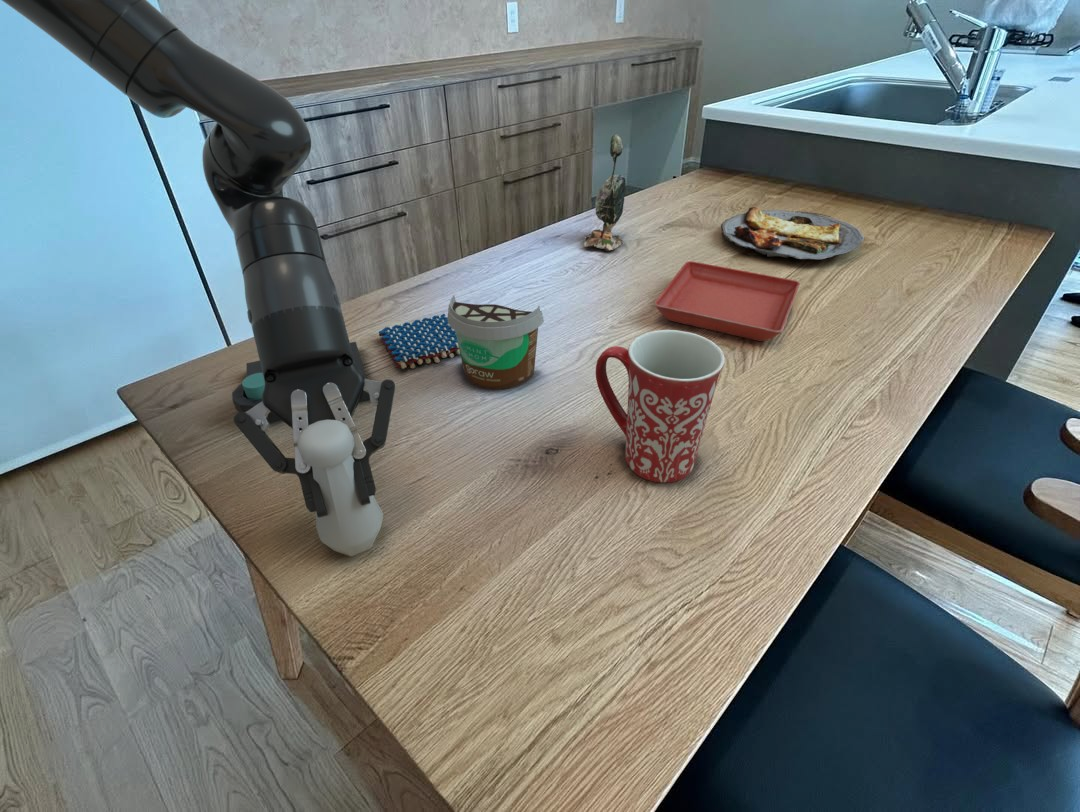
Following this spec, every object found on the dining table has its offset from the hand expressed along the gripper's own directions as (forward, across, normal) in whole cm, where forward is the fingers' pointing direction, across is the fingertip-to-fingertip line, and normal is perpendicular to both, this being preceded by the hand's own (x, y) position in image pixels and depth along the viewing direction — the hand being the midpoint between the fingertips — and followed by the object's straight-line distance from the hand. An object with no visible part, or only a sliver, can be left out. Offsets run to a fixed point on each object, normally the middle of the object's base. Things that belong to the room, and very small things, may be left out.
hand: (344, 509), depth 50 cm
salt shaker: (+3, 0, -6) cm, 6 cm away
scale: (-17, +2, -26) cm, 31 cm away
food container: (-11, -20, -20) cm, 30 cm away
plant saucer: (-14, -59, -23) cm, 65 cm away
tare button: (-16, +7, -20) cm, 27 cm away
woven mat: (-20, -14, -28) cm, 37 cm away
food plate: (-27, -87, -36) cm, 98 cm away
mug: (+3, -31, -6) cm, 32 cm away
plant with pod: (-37, -55, -46) cm, 81 cm away
